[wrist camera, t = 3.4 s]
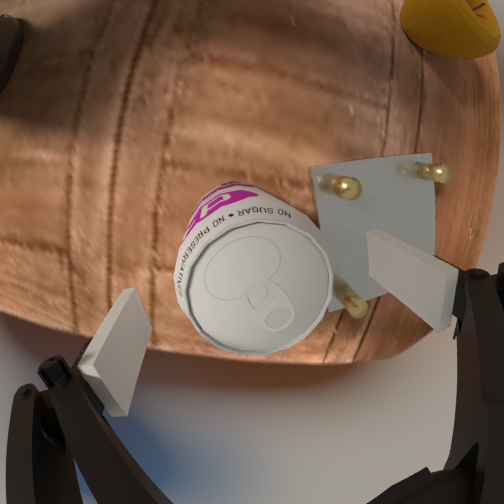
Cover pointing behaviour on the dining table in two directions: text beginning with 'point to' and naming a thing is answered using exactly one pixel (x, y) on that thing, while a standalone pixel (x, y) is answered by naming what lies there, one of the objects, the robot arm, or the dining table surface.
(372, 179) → the plate
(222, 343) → the supplement can
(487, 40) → the apple
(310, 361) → the dining table surface
